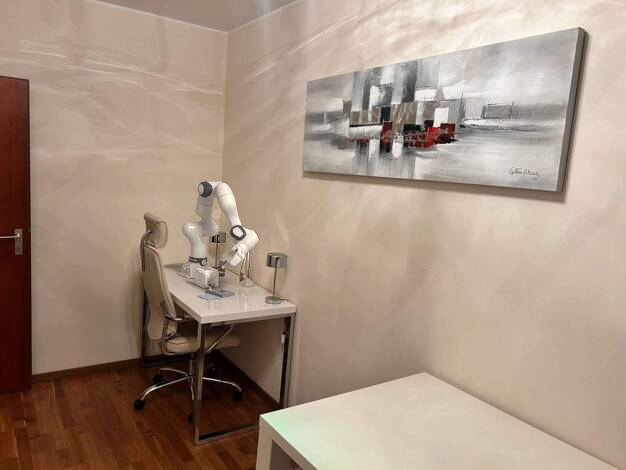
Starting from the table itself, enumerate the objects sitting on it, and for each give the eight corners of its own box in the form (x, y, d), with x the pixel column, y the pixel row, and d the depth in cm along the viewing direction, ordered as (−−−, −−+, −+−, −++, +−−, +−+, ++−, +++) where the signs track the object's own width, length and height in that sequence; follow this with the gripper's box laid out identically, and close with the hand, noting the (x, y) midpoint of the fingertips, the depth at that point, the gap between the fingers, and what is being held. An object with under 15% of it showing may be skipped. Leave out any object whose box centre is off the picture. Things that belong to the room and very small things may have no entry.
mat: (196, 296, 288) (196, 295, 288) (208, 294, 295) (208, 293, 295) (208, 300, 282) (208, 299, 282) (219, 297, 289) (219, 297, 289)
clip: (212, 288, 299) (212, 287, 299) (210, 288, 297) (210, 287, 297) (205, 285, 303) (205, 284, 303) (202, 286, 301) (202, 285, 301)
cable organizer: (218, 288, 312) (220, 270, 310) (203, 289, 305) (205, 271, 304) (208, 283, 323) (209, 266, 322) (193, 284, 317) (194, 267, 315)
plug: (216, 275, 296) (217, 259, 295) (221, 274, 300) (222, 258, 298) (221, 277, 293) (222, 260, 292) (227, 276, 297) (228, 259, 296)
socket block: (206, 293, 298) (206, 288, 297) (218, 290, 306) (218, 286, 306) (222, 298, 290) (222, 293, 289) (234, 295, 298) (234, 290, 297)
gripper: (230, 245, 307) (214, 260, 304) (238, 251, 288) (221, 267, 285) (236, 252, 309) (220, 267, 306) (245, 258, 290) (228, 274, 288)
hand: (221, 267), depth 296 cm, fingers closed on plug, 4 cm apart
